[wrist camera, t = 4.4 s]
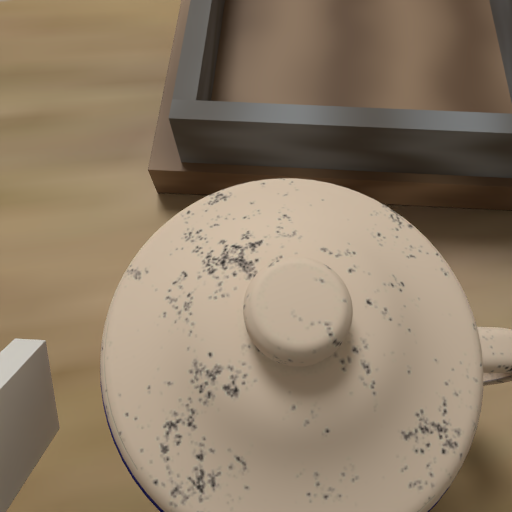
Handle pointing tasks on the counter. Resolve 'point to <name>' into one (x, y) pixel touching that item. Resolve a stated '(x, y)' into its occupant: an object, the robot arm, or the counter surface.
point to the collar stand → (341, 99)
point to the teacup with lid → (294, 357)
